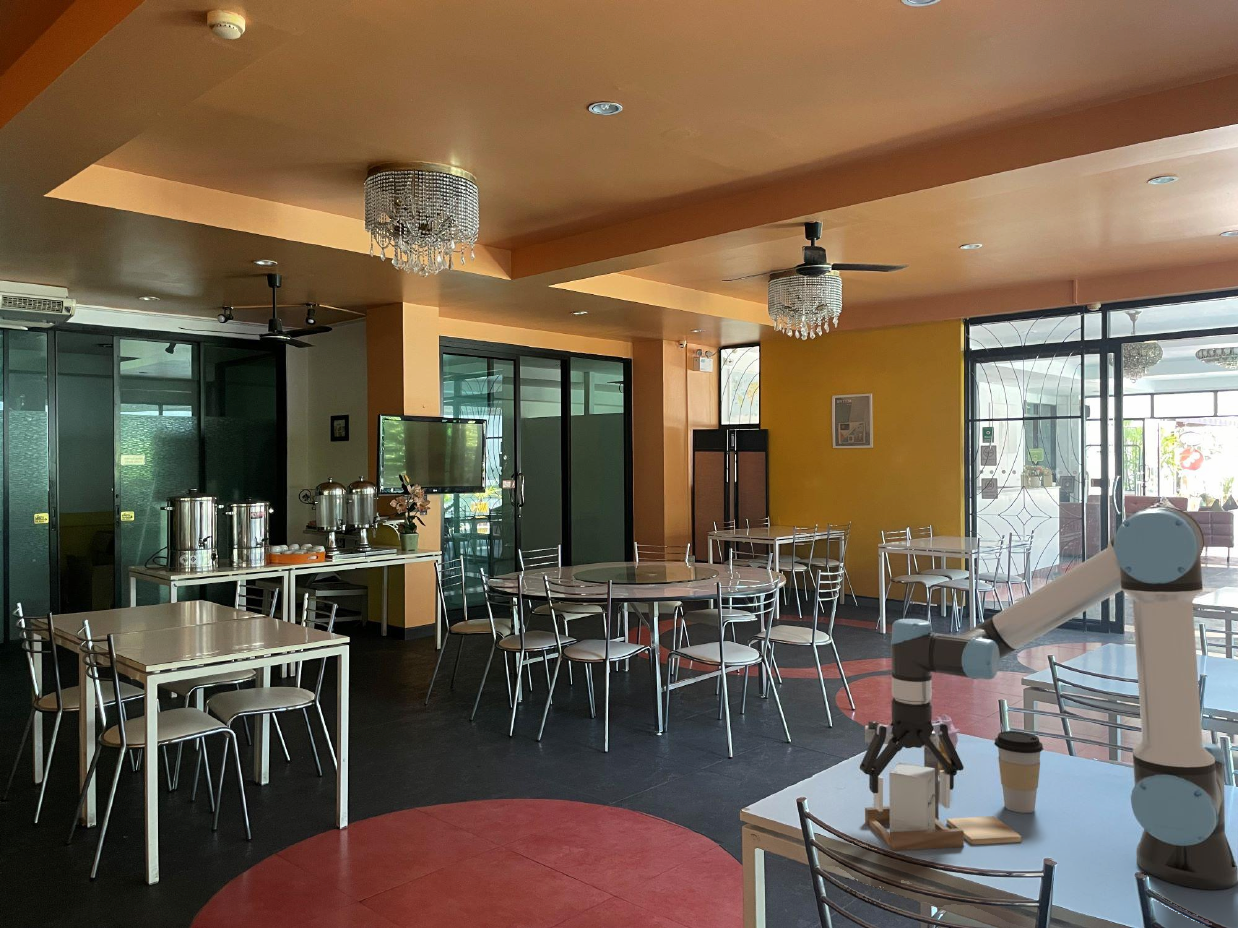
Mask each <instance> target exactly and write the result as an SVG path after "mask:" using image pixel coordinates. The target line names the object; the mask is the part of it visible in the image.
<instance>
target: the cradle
mask: <svg viewBox="0 0 1238 928" xmlns="http://www.w3.org/2000/svg"><path fill="white" fill-rule="evenodd" d="M923 749H924V750H923V757H924V761H923V762H924V763H923V765H924V767H930V768H935V830H920V831H901V832H890V831H888V830H887V829H886V828H885V827H884V826H883V825H887V824H889V825H890V805H887V806H883V811H881V812H879V811H878V810H877V809H876V808H875V807H874V806H870V807H864V824H866V825H869V827H871V829H873V830H874V832H875V833H876V834H877V835H878V836H879V837H881V839H882V840H883V841H884V842H885V843H886V844H887V845H888V846H889V849H890V850H891V851H894V852H895V851H910V850H912V851H914V850H929V849H930V850H931V849H947V848H963V847H965V845H964V843H965V841H964V840H965V838H964V831H963V830H962V829H961V828H956V829H953V828H948V827H947V826H946V825H945V824H944V823H942V822H941V821H940V820H939V818H940V817H939V815H940V814H939V813H940V812H939V809H940V808H939V776H938V761H937V760H936V759H935V758H934V757H933V755H932V754H931V753H930V752H929V751H928V749H927V748H925V747H923Z"/></svg>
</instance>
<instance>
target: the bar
mask: <svg viewBox="0 0 1238 928" xmlns="http://www.w3.org/2000/svg"><path fill="white" fill-rule="evenodd" d="M877 723H878V721H875V720H868V722H867V725H865V727H864V742H865V743H869V744H870V743H871V741H872V739H873V737H874V735H875V728H876V724H877ZM892 736H893V735H892V733H891V732H890V733H889V734H888V736H887V737H886V738H885V742H884V744H883V745H888V742H889V740H890V739H891V738H892ZM929 739H930V740H931V741H932V743H933V744H934V745H935V747H936V748H939V737H938V734H936V733H935V731H934V730H933V733H932V734H931V736H930V737H929ZM897 743H898V742H897ZM924 747H925V746H924V745H923V746H922V747H921V748H924ZM925 748H926V747H925Z"/></svg>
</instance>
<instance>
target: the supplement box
mask: <svg viewBox="0 0 1238 928" xmlns="http://www.w3.org/2000/svg"><path fill="white" fill-rule="evenodd" d="M888 777H889V779H888V780H889V806H890V824H889V833H890V832H901V831H920V830H936V829H935V768H930V767H924V766H922V765H916V764H911V763H910V764H909V763H903V762H898V763H897V764H896V766H894V767H893V769H892V770H891V771H890V772H889V776H888Z"/></svg>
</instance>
